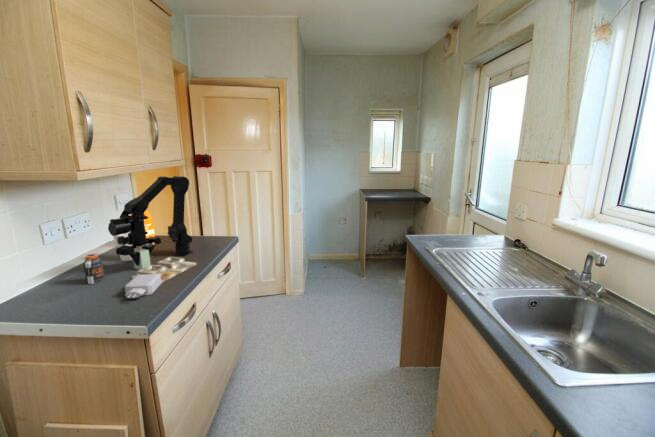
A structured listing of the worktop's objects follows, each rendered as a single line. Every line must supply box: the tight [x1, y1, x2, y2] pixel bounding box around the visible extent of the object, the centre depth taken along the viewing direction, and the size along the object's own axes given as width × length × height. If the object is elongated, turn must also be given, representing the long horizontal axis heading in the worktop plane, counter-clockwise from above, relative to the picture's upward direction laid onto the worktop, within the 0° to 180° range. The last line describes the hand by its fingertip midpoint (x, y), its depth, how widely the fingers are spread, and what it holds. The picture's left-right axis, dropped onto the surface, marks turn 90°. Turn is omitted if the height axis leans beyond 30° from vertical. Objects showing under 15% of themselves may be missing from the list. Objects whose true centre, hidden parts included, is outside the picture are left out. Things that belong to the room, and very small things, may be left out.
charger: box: [124, 274, 163, 299], centre depth 114 cm, size 5×9×15 cm
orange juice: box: [129, 209, 156, 249], centre depth 168 cm, size 8×9×20 cm
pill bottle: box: [82, 253, 105, 285], centre depth 123 cm, size 6×6×11 cm
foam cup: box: [113, 231, 133, 262], centre depth 148 cm, size 10×9×13 cm
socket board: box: [131, 256, 197, 283], centre depth 135 cm, size 21×15×3 cm
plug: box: [133, 248, 152, 271], centre depth 138 cm, size 4×4×8 cm
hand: (142, 263), depth 138 cm, fingers closed on plug, 4 cm apart
